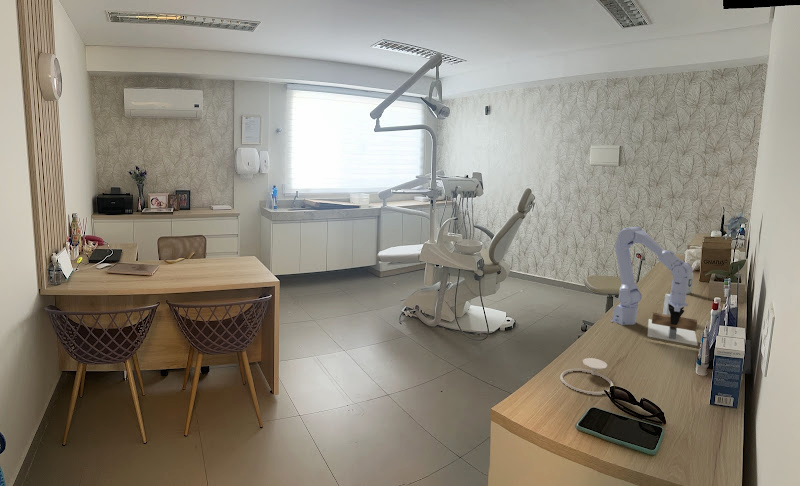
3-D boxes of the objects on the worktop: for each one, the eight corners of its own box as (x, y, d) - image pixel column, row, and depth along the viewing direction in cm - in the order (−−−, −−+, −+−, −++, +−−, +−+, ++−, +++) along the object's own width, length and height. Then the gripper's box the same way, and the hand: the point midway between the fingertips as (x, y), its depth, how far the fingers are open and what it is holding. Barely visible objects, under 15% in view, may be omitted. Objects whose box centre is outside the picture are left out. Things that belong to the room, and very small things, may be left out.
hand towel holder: (553, 372, 156) (574, 352, 172) (552, 384, 157) (573, 363, 173) (607, 389, 146) (623, 366, 162) (605, 402, 147) (622, 378, 163)
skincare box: (674, 318, 223) (678, 294, 220) (679, 321, 218) (683, 297, 216) (661, 317, 223) (665, 293, 221) (665, 320, 219) (669, 296, 217)
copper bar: (651, 323, 200) (653, 314, 200) (651, 321, 203) (653, 312, 202) (695, 331, 193) (697, 322, 192) (695, 328, 196) (696, 319, 195)
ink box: (691, 293, 263) (694, 273, 261) (685, 294, 261) (688, 273, 259) (677, 289, 271) (680, 269, 269) (671, 290, 269) (674, 269, 267)
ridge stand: (697, 348, 189) (699, 336, 188) (647, 338, 198) (648, 327, 197) (693, 328, 210) (695, 318, 209) (648, 320, 218) (649, 310, 217)
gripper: (690, 298, 187) (685, 330, 190) (688, 289, 199) (684, 319, 202) (670, 295, 190) (665, 327, 193) (669, 286, 203) (665, 316, 205)
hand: (673, 323), depth 198 cm, fingers closed on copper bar, 3 cm apart
